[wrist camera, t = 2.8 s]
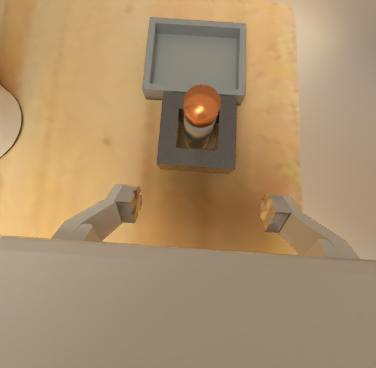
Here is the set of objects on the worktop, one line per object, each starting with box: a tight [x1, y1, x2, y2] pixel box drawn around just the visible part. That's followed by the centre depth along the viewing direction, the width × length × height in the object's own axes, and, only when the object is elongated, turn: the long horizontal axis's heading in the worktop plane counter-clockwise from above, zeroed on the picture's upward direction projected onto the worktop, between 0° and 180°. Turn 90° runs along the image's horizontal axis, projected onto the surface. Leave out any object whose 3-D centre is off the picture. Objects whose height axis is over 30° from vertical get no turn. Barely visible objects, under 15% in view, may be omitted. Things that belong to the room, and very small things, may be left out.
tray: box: [142, 17, 246, 105], centre depth 28 cm, size 16×13×2 cm
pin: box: [184, 85, 221, 149], centre depth 23 cm, size 4×4×10 cm
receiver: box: [157, 92, 237, 174], centre depth 26 cm, size 11×11×4 cm
